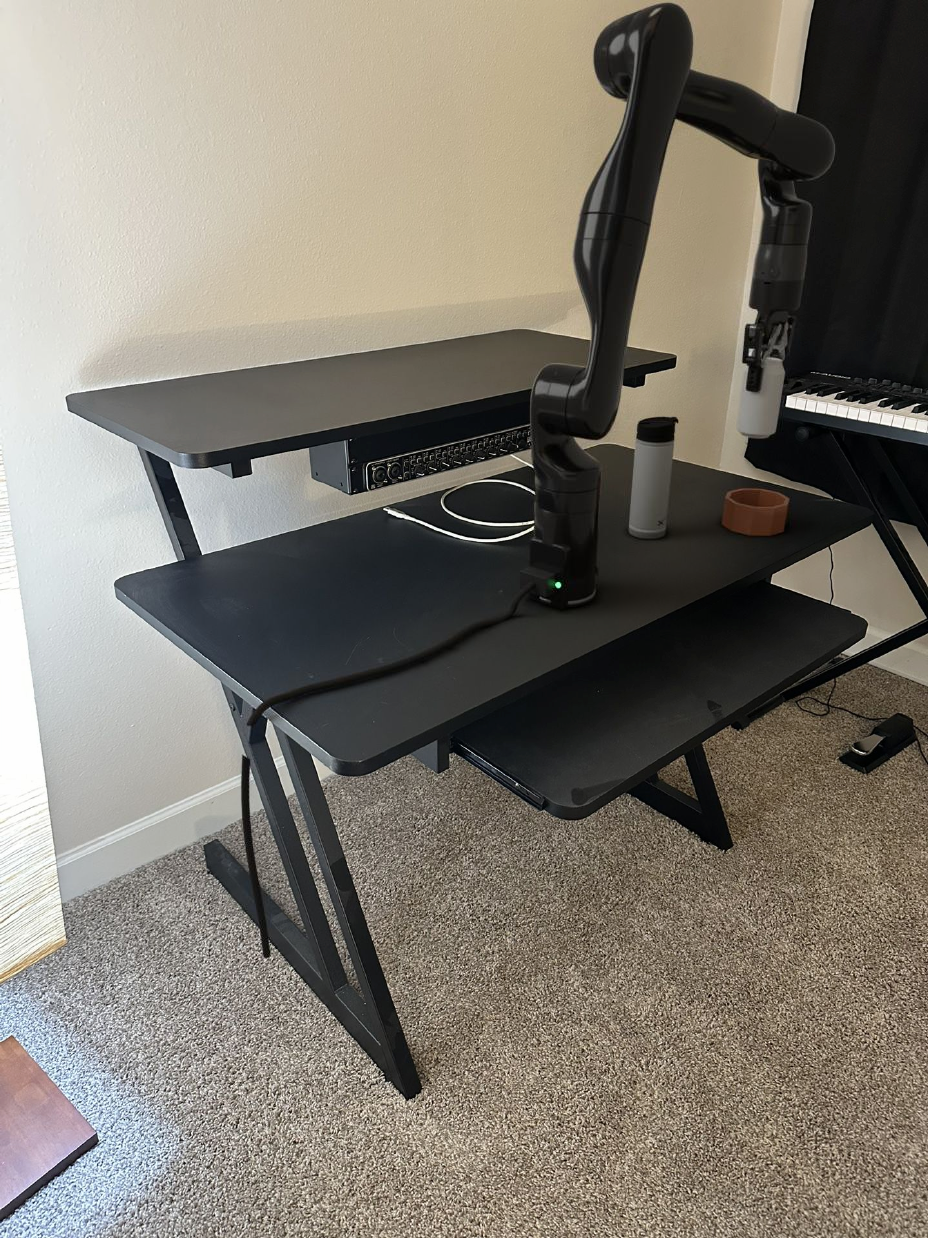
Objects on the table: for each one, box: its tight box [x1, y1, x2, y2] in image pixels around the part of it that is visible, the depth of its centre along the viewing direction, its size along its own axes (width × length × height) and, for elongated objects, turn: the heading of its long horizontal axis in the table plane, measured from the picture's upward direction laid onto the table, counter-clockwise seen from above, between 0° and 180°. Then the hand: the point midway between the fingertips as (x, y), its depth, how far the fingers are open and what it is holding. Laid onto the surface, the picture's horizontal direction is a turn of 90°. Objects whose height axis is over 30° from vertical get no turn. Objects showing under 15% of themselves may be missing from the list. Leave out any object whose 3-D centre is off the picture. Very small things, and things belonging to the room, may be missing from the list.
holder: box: [721, 487, 790, 537], centre depth 157 cm, size 10×11×5 cm
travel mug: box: [628, 416, 679, 540], centre depth 151 cm, size 6×7×20 cm
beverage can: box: [736, 357, 786, 439], centre depth 144 cm, size 6×6×12 cm
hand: (761, 387), depth 143 cm, fingers closed on beverage can, 6 cm apart
